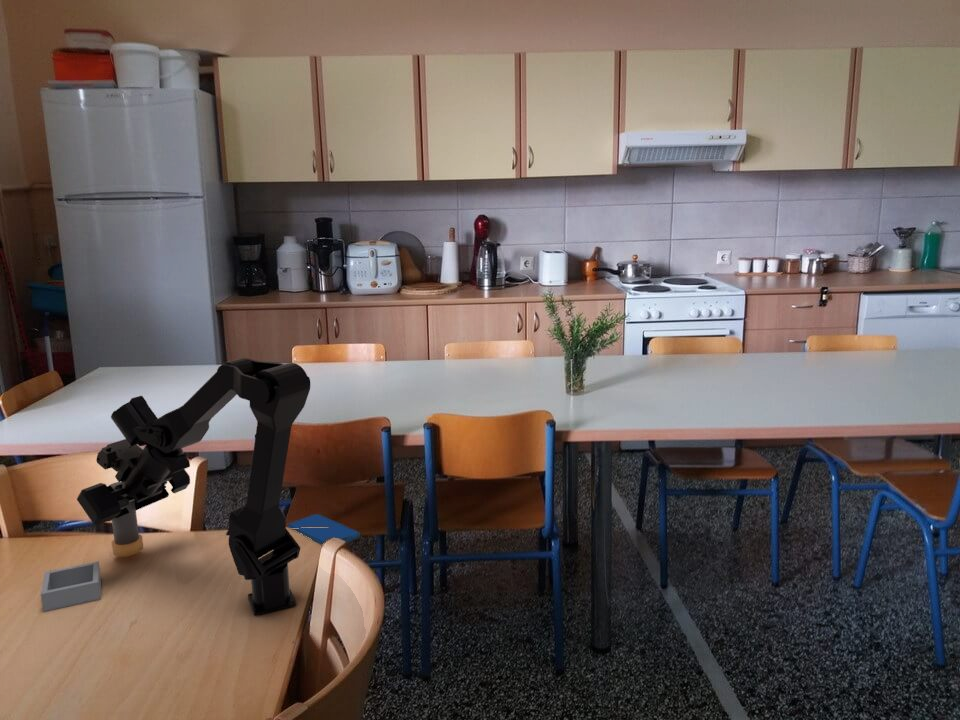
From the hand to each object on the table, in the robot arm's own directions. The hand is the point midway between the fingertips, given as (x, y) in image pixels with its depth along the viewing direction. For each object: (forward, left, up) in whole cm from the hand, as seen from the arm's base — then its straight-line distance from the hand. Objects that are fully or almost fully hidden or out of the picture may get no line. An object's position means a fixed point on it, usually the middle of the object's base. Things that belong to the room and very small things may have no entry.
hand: (119, 514), depth 132 cm
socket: (-11, +8, -8) cm, 16 cm away
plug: (-1, -1, -7) cm, 7 cm away
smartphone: (-7, -35, -9) cm, 37 cm away
